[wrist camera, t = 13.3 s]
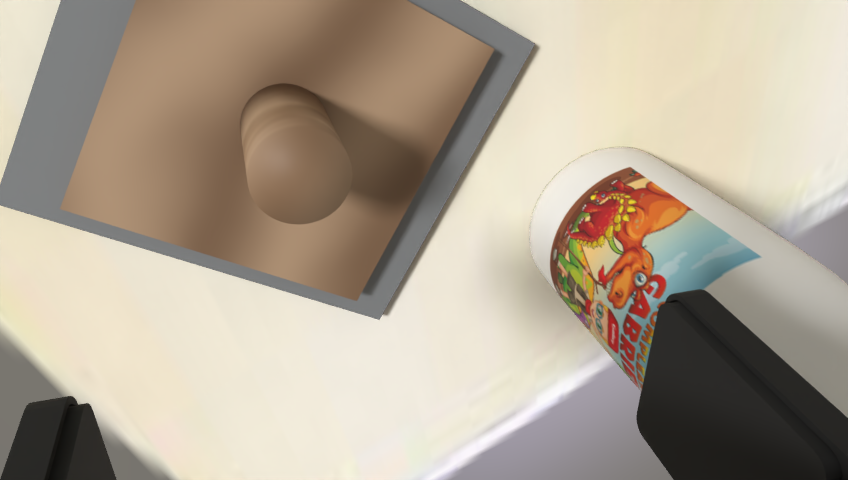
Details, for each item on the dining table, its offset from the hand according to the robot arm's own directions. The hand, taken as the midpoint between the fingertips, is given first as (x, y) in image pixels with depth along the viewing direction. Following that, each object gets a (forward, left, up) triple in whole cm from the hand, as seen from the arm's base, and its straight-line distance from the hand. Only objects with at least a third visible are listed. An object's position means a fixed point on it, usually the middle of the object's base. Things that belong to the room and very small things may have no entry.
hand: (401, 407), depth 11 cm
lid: (0, +1, -17) cm, 17 cm away
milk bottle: (-16, -1, -18) cm, 24 cm away
